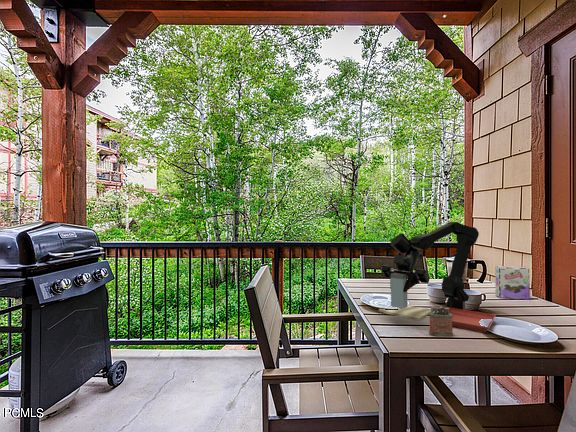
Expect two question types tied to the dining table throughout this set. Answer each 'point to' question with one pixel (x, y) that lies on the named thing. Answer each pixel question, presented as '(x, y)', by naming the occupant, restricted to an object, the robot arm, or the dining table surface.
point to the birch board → (409, 312)
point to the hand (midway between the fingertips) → (397, 290)
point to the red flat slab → (469, 319)
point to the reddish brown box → (440, 322)
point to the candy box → (512, 282)
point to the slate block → (398, 290)
